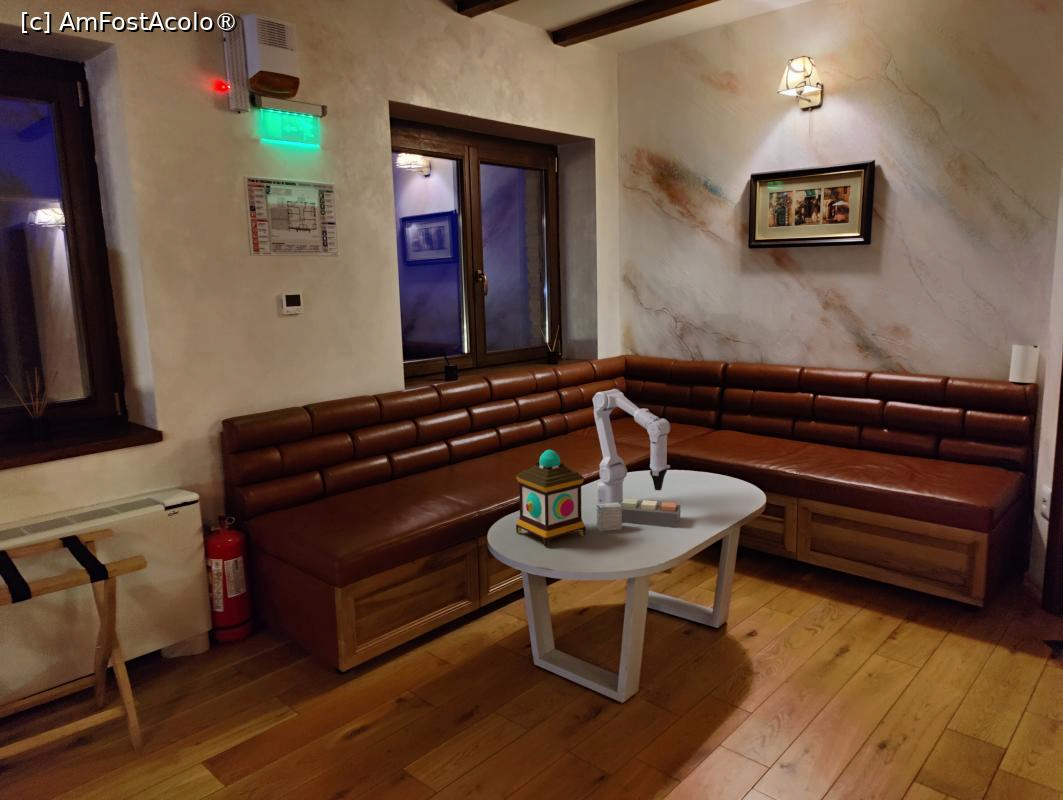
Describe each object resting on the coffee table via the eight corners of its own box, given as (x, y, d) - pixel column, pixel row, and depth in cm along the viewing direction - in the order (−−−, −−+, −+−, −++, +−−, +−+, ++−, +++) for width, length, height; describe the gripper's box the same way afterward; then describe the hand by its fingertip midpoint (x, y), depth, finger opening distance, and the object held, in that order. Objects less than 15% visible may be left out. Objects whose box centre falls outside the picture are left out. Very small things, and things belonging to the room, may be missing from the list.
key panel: (617, 522, 262) (617, 508, 261) (622, 513, 272) (622, 500, 271) (676, 527, 256) (677, 513, 255) (680, 518, 265) (680, 504, 264)
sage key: (621, 510, 264) (621, 502, 263) (624, 506, 268) (624, 498, 268) (635, 511, 262) (635, 503, 262) (637, 507, 267) (637, 499, 266)
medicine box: (617, 525, 259) (617, 502, 258) (622, 529, 255) (622, 506, 253) (596, 527, 258) (596, 503, 256) (600, 532, 253) (600, 508, 252)
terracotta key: (660, 513, 259) (660, 506, 259) (662, 509, 264) (662, 501, 263) (675, 515, 258) (675, 507, 257) (676, 510, 262) (677, 502, 262)
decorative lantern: (510, 533, 254) (508, 448, 248) (555, 520, 265) (554, 439, 260) (545, 550, 238) (544, 461, 232) (591, 536, 249) (591, 450, 244)
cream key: (641, 512, 261) (641, 504, 261) (643, 507, 266) (643, 500, 266) (655, 513, 260) (655, 505, 259) (657, 508, 265) (657, 501, 264)
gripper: (667, 459, 254) (666, 496, 256) (672, 448, 267) (672, 484, 270) (646, 457, 256) (646, 495, 258) (653, 447, 269) (652, 483, 272)
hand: (658, 489), depth 264 cm, fingers closed
